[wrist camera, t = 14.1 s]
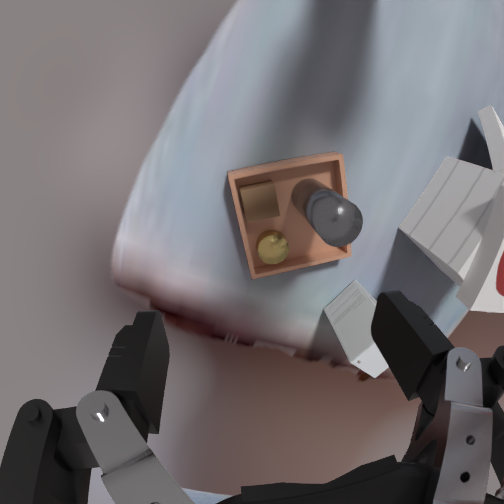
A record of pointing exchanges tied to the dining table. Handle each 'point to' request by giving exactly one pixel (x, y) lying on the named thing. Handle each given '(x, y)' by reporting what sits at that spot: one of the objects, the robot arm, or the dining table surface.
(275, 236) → the brass disc
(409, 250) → the dining table surface
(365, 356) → the supplement box
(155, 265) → the dining table surface
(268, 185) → the walnut block
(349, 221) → the disc
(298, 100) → the dining table surface
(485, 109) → the pizza boxes
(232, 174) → the tray
